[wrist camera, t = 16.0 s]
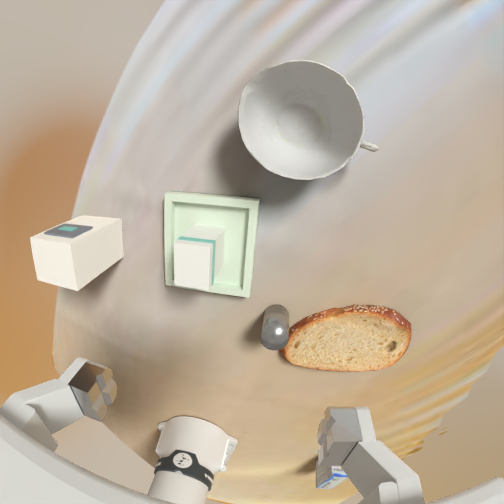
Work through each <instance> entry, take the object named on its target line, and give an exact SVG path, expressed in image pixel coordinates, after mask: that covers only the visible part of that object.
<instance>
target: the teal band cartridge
mask: <svg viewBox="0 0 504 504" xmlns="http://www.w3.org/2000/svg"><path fill="white" fill-rule="evenodd" d="M225 231H226V227H218V226H209V225H199V224H195V225H194V226H193V227H192V228H191V229H189V230H188V231H187V232H186V233H185V234H184V235H182V236H180V237H179V238H178V239H177V240H176V241H175V242H174V284H175V285H177V286H183V287H189V288H196V289H202V290H209V289H210V287H211V286H212V285H213V283H214V280H215V278H216V276H217V275H218V273H219V271H220V269H221V267H222V265H223V263H224V247H225Z"/></svg>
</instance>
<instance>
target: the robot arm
mask: <svg viewBox="0 0 504 504" xmlns="http://www.w3.org/2000/svg"><path fill="white" fill-rule="evenodd" d="M113 375H114V374H113V372H112V369H111V368H108V367H106V366H103V365H100V364H98V363H95V362H93V361H90V360H87V359H85V358H82V357H78V358H76V359H75V360H74V362H73V363H72V364H71V365H70V366H69V367H68V368H67V370H66V371H65V372H64V373H63V374H62V375H61V377H60V378H59V379H58V380H57V379H53V380H50V381H48V382H45V383H42V384H39V385H36V386H34V387H31V388H28V389H25V390H22V391H19V392H16V393H13V394H12V395H11V396H10V397H9V398H8V400H7V401H6V402H5V403H4V404H3V405H2V407H1V408H0V504H205V502H206V498H207V493H208V491H210V489H211V487H212V485H213V479H214V476H215V475H216V474H217V473H218V472H219V471H221V472H225V470H226V466H227V464H226V463H227V461H228V459H229V458H230V456H231V454H232V453H233V451H234V449H235V447H236V446H237V443H238V440H237V439H235V438H233V437H231V436H229V435H227V434H226V433H225V432H224V431H223V430H222V429H220V428H219V427H218V426H216V425H214V424H212V423H210V422H208V421H205V420H202V419H198V418H194V417H187V416H179V417H174V418H172V419H170V420H169V421H167V422H160V423H158V429H159V430H160V432H161V435H160V438H159V441H158V444H157V447H156V453H157V455H158V456H159V458H160V459H159V460H158V463H157V464H156V467H155V471H154V473H155V477H154V479H153V482H152V485H151V487H150V490H149V492H148V495H146V494H143V493H140V492H137V491H134V490H132V489H129V488H126V487H124V486H121V485H119V484H116V483H114V482H112V481H109V480H107V479H105V478H102V477H100V476H98V475H96V474H94V473H92V472H90V471H88V470H86V469H84V468H82V467H80V466H78V465H76V464H74V463H72V462H70V461H69V460H67V459H65V458H63V457H62V456H60V455H58V454H56V453H55V452H54V451H55V449H56V448H57V446H58V444H57V441H56V440H55V439H54V437H53V436H52V434H53V433H55V432H57V431H59V430H61V429H62V428H64V427H66V426H68V425H70V424H71V423H73V422H75V421H77V420H78V419H80V418H82V417H83V416H84V415H85V416H88V417H90V418H92V419H95V420H97V421H100V422H101V421H102V420H103V418H104V416H105V415H106V413H107V412H108V408H107V406H108V405H110V404H112V403H113V402H114V400H115V398H116V395H117V384H116V382H115V381H114V380H113V379H112V376H113ZM318 443H319V444H320V445H321V447H320V449H319V451H318V459H319V466H341V468H342V469H343V471H344V472H345V473H346V475H347V476H348V477H349V479H350V480H351V481H352V483H353V484H354V485H355V487H356V488H357V489H358V491H359V492H360V493H361V494H362V496H363V497H364V499H363V500H362V501H361V502H359V503H358V504H504V479H503V478H501V477H495V478H492V479H490V480H487V481H485V482H483V483H481V484H479V485H476V486H474V487H471V488H469V489H466V490H464V491H461V492H459V493H456V494H453V495H450V496H447V497H444V498H441V499H438V500H435V501H432V502H428V503H425V502H424V498H423V493H422V489H421V484H420V480H419V476H418V475H417V474H416V473H415V472H414V471H413V470H411V469H410V468H409V467H408V466H407V465H406V464H405V463H404V462H403V461H402V460H400V459H399V458H398V457H397V456H396V455H395V454H394V453H393V452H392V451H391V450H390V449H388V448H387V447H386V446H385V445H384V444H383V443H382V442H381V441H376V437H375V432H374V428H373V424H372V419H371V415H370V411H369V408H368V407H327V408H326V410H325V418H323V419H322V420H321V422H320V424H319V428H318Z"/></svg>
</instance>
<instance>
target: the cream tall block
mask: <svg viewBox="0 0 504 504" xmlns="http://www.w3.org/2000/svg"><path fill="white" fill-rule="evenodd" d="M30 240H31V246H32V253H33V259H34V264H35V269H36V273H37V279H38V280H40V281H43V282H47V283H50V284H53V285H57V286H60V287H64V288H68V289H71V290H75V291H79V290H80V289H81V288H83V287H84V286H85V285H86V284H88V283H89V282H90V281H92V280H93V279H94V278H96V277H97V276H98V275H100V274H101V273H102V272H104V271H105V270H106V269H108V268H109V267H110V266H112V265H113V264H114V263H116V262H117V261H118V260H120V259H121V258H123V257H124V256H123V242H122V221H121V219H118V218H107V217H95V216H83V215H82V216H79V217H77V218H74V219H72V220H69V221H67V222H65V223H62V224H60V225H58V226H55V227H53V228H50V229H48V230H46V231H44V232H41V233H39V234H37V235H35V236H33V237H31V238H30Z"/></svg>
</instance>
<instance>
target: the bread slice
mask: <svg viewBox="0 0 504 504" xmlns="http://www.w3.org/2000/svg"><path fill="white" fill-rule="evenodd" d="M410 340H411V324H410V322H408V321H407V320H406V319H405V318H404V317H403V316H402V315H401V314H400V313H399V312H397V311H395V310H392V309H389V308H386V307H383V306H375V305H351V306H347V307H344V308H332V309H328V310H324V311H321V312H318V313H316V314H313V315H310V316H308V317H306V318H304V319H302V320H301V321H299V322H297V323H296V324H295V325H293V326H292V327H291V328H289V341H288V344H287V345H286V346H285V347H284V348H282V349H280V351H281V353H282V354H283V355H284V357H285V358H286V360H287V361H289V362H290V363H292V364H294V365H298V366H301V367H306V368H311V369H314V368H315V369H318V370H327V371H343V372H344V371H349V372H351V371H356V372H360V371H371V370H372V371H375V370H379V369H385V368H387V367H389V366H391V365H393V364H394V363H396V362H397V361H398V360H399V359H400V358H401V357H402V356H403V354H404V353H405V352H406V350H407V348H408V346H409V343H410Z"/></svg>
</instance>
